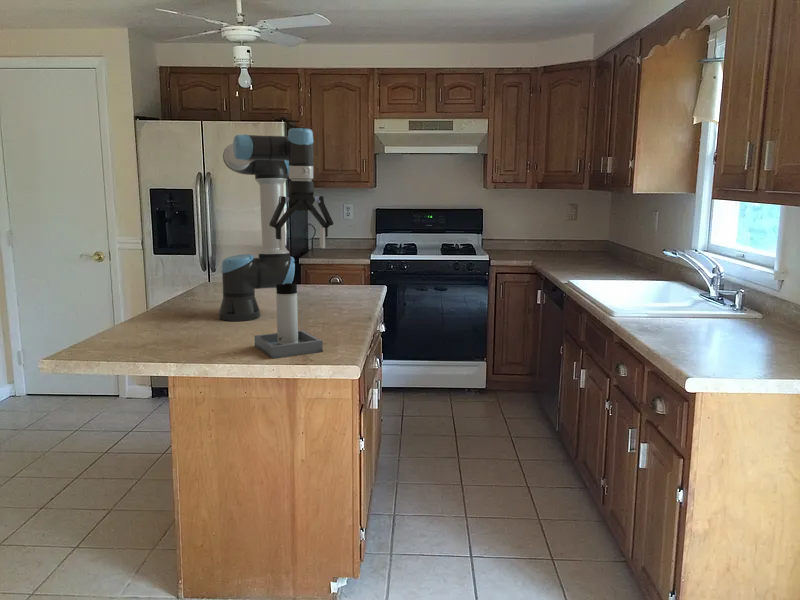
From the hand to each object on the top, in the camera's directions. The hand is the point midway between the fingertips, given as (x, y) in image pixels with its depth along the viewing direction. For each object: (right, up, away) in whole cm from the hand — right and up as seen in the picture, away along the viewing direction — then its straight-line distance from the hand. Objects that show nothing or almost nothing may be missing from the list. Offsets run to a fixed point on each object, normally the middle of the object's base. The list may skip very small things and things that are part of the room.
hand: (302, 249), depth 206 cm
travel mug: (-4, -30, -3) cm, 31 cm away
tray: (-4, -31, -3) cm, 32 cm away
